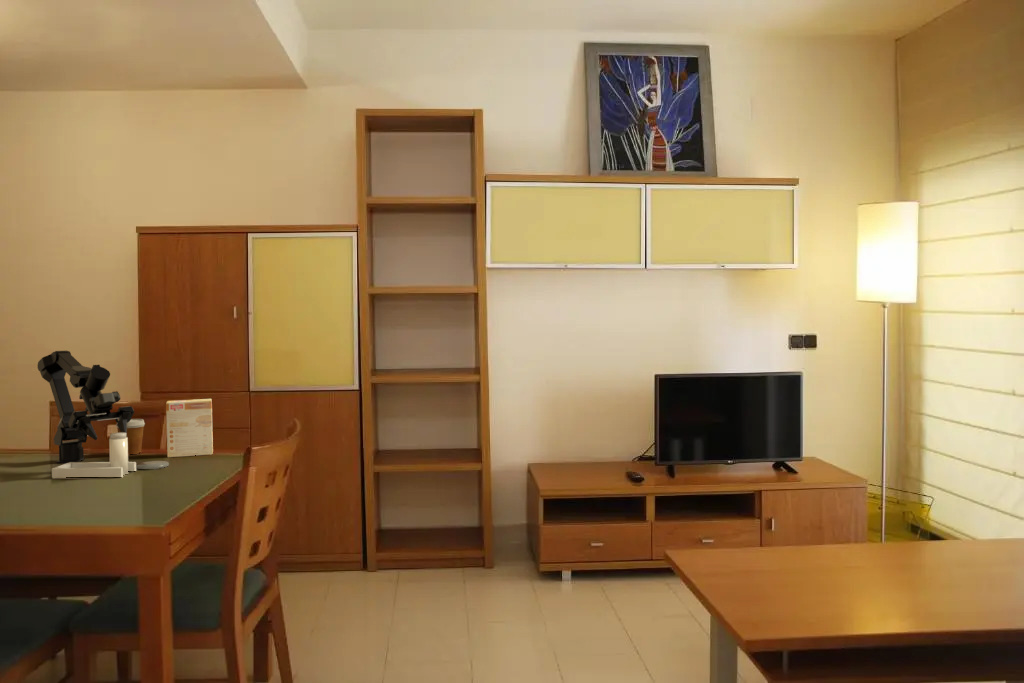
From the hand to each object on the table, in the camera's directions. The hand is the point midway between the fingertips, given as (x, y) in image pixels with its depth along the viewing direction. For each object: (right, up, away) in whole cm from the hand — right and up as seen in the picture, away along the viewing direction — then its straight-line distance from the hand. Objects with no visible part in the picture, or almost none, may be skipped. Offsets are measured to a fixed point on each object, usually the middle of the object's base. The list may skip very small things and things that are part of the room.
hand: (111, 437), depth 253 cm
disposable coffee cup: (-10, -10, +33) cm, 36 cm away
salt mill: (+4, -11, -2) cm, 12 cm away
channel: (-3, -11, -3) cm, 12 cm away
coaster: (+9, -11, +10) cm, 17 cm away
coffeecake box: (+12, -10, +32) cm, 35 cm away
